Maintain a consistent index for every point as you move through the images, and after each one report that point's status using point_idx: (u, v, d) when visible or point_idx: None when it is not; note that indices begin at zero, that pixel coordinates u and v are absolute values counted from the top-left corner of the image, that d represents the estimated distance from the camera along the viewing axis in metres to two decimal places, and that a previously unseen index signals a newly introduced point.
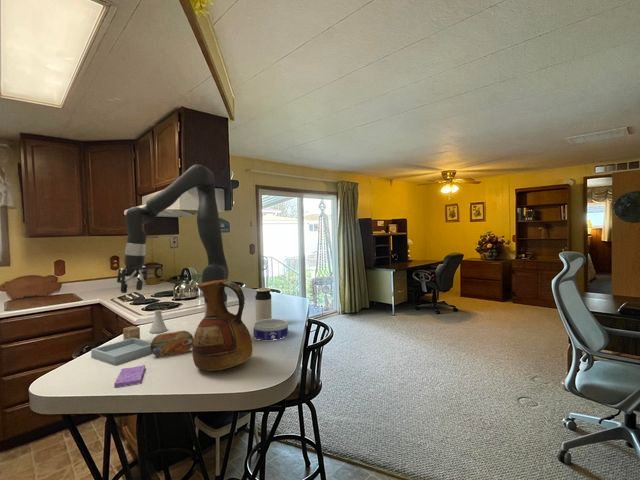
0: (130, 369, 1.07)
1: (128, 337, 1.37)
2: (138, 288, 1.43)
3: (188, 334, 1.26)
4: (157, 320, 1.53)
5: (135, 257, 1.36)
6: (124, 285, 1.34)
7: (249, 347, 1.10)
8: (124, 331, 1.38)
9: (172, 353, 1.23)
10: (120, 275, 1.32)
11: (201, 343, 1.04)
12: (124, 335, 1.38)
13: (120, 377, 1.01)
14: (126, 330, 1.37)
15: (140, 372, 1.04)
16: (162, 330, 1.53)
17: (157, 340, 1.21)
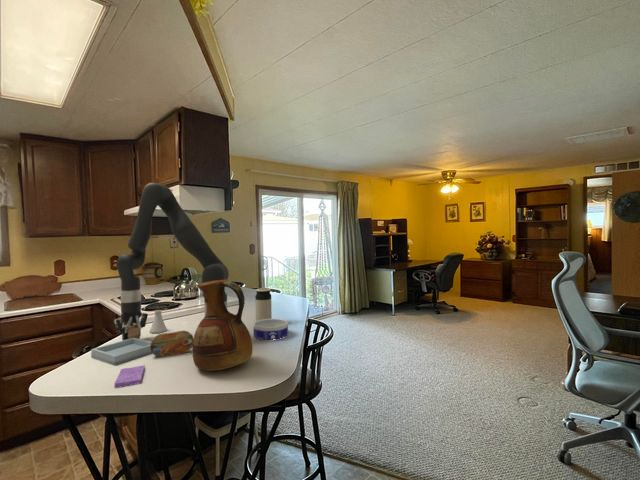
0: (130, 369, 1.07)
1: (128, 337, 1.37)
2: None
3: (188, 334, 1.26)
4: (157, 320, 1.53)
5: (128, 304, 1.36)
6: (124, 334, 1.36)
7: (249, 347, 1.10)
8: None
9: (172, 353, 1.23)
10: (116, 326, 1.34)
11: (201, 343, 1.04)
12: None
13: (120, 377, 1.00)
14: None
15: (140, 372, 1.04)
16: (162, 330, 1.53)
17: (157, 340, 1.21)
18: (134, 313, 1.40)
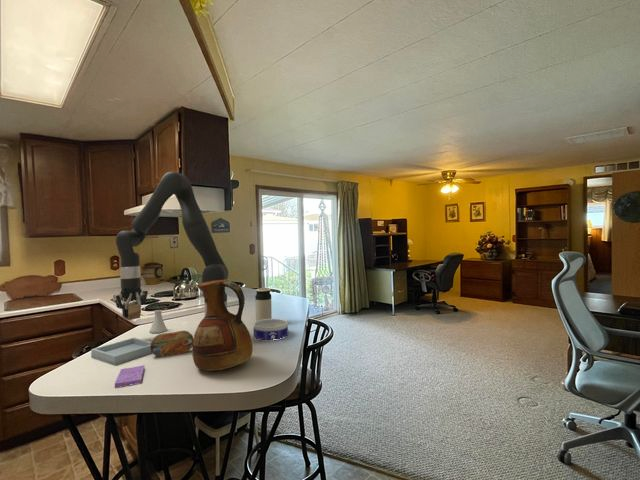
0: (129, 369, 1.07)
1: (128, 313, 1.37)
2: None
3: (188, 334, 1.26)
4: (157, 320, 1.53)
5: (127, 280, 1.36)
6: (124, 310, 1.36)
7: (249, 347, 1.10)
8: None
9: (172, 353, 1.23)
10: (116, 302, 1.34)
11: (201, 343, 1.04)
12: None
13: (120, 377, 1.00)
14: None
15: (140, 372, 1.04)
16: (162, 330, 1.53)
17: (157, 340, 1.21)
18: (134, 290, 1.40)
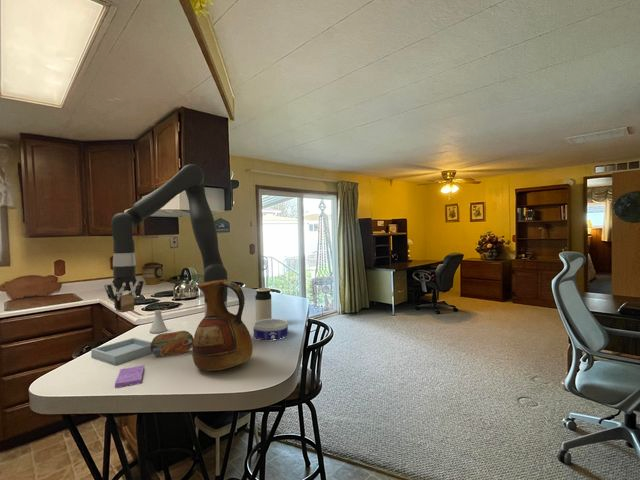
0: (129, 369, 1.07)
1: (121, 305, 1.23)
2: None
3: (188, 334, 1.26)
4: (157, 320, 1.53)
5: (120, 268, 1.22)
6: (117, 302, 1.22)
7: (249, 347, 1.10)
8: None
9: (172, 353, 1.23)
10: (108, 292, 1.20)
11: (201, 343, 1.04)
12: None
13: (120, 377, 1.00)
14: None
15: (140, 372, 1.04)
16: (162, 330, 1.53)
17: (157, 340, 1.21)
18: (128, 279, 1.26)
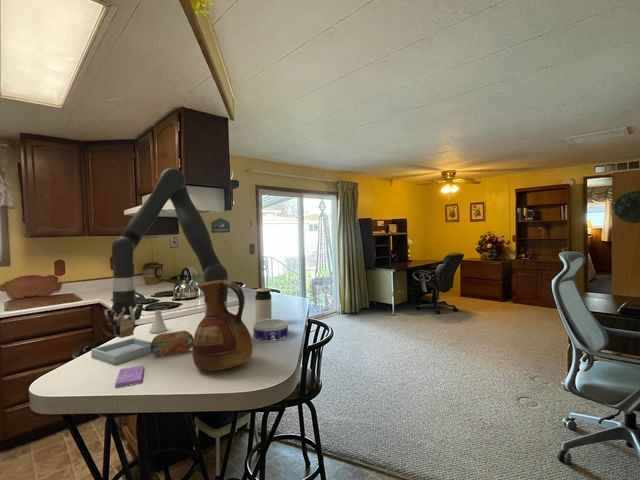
0: (129, 369, 1.07)
1: (120, 330, 1.22)
2: None
3: (188, 334, 1.26)
4: (157, 320, 1.53)
5: (120, 293, 1.21)
6: (116, 327, 1.21)
7: (249, 347, 1.10)
8: None
9: (172, 353, 1.23)
10: (107, 318, 1.19)
11: (201, 343, 1.04)
12: None
13: (120, 377, 1.00)
14: None
15: (140, 372, 1.04)
16: (162, 330, 1.53)
17: (157, 340, 1.21)
18: (127, 303, 1.24)
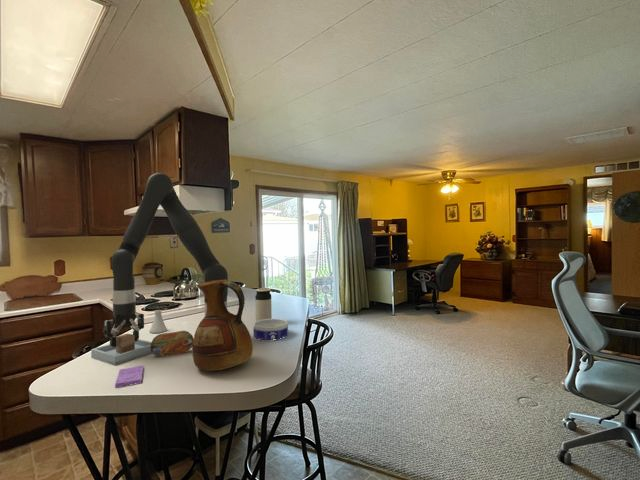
0: (128, 369, 1.07)
1: (121, 346, 1.22)
2: None
3: (188, 334, 1.26)
4: (157, 320, 1.53)
5: (120, 306, 1.21)
6: (112, 339, 1.20)
7: (249, 347, 1.10)
8: (117, 339, 1.23)
9: (172, 353, 1.23)
10: (105, 328, 1.18)
11: (201, 343, 1.04)
12: (117, 344, 1.23)
13: (120, 377, 1.00)
14: (119, 338, 1.22)
15: (140, 372, 1.04)
16: (162, 330, 1.53)
17: (157, 340, 1.21)
18: (128, 316, 1.24)
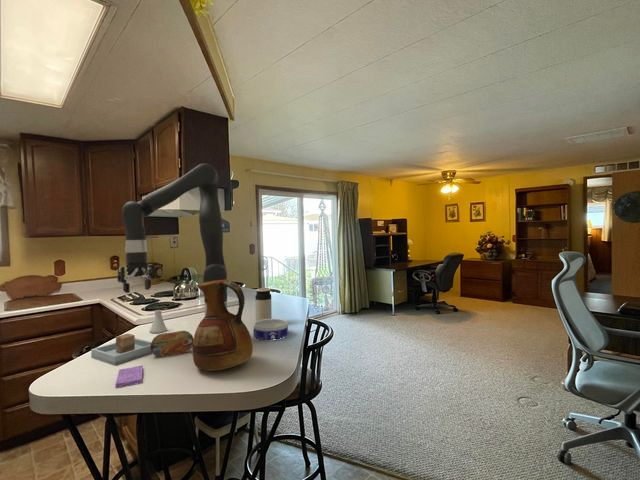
0: (128, 369, 1.07)
1: (121, 346, 1.22)
2: (146, 287, 1.35)
3: (188, 334, 1.26)
4: (157, 320, 1.53)
5: (133, 254, 1.28)
6: (125, 284, 1.27)
7: (249, 347, 1.10)
8: (117, 339, 1.23)
9: (172, 353, 1.23)
10: (119, 274, 1.26)
11: (201, 343, 1.04)
12: (117, 344, 1.23)
13: (120, 377, 1.00)
14: (119, 338, 1.22)
15: (139, 372, 1.04)
16: (162, 330, 1.53)
17: (157, 340, 1.21)
18: (140, 265, 1.32)
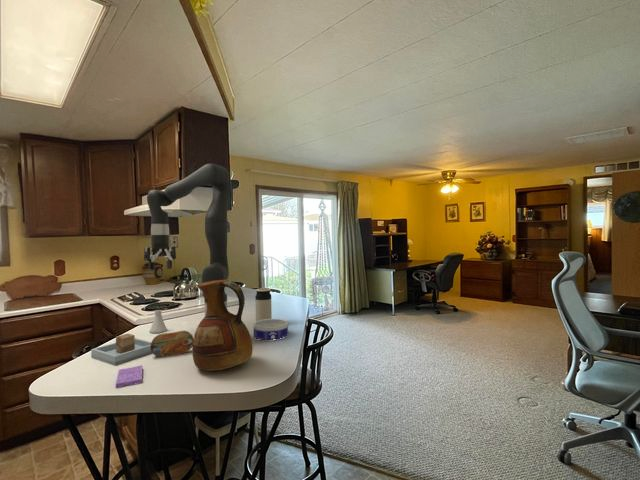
0: (128, 370, 1.07)
1: (121, 346, 1.22)
2: (168, 267, 1.52)
3: (188, 334, 1.26)
4: (157, 320, 1.53)
5: (158, 236, 1.44)
6: (151, 263, 1.44)
7: (249, 347, 1.10)
8: (117, 339, 1.23)
9: (172, 353, 1.23)
10: (145, 253, 1.42)
11: (201, 343, 1.04)
12: (117, 344, 1.23)
13: (120, 377, 1.00)
14: (119, 338, 1.22)
15: (139, 372, 1.04)
16: (162, 330, 1.53)
17: (157, 340, 1.21)
18: (163, 246, 1.48)
